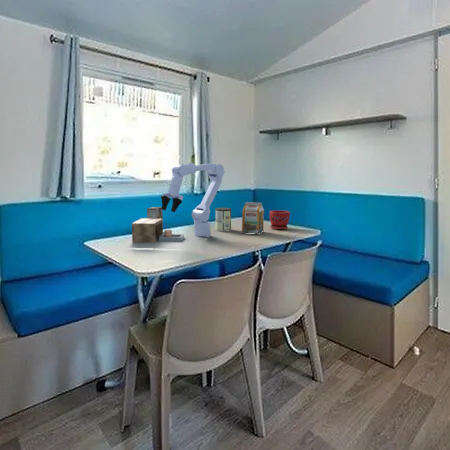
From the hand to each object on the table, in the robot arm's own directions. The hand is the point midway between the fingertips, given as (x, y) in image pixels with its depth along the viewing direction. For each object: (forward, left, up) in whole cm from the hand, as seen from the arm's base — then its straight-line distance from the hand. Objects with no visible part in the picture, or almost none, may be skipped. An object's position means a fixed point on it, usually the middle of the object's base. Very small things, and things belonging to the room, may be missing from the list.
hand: (168, 210), depth 183 cm
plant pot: (-64, -46, -17) cm, 81 cm away
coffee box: (+13, -20, -17) cm, 29 cm away
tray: (-1, -1, -17) cm, 17 cm away
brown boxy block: (+12, -1, -17) cm, 20 cm away
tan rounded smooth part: (+1, -1, -16) cm, 16 cm away
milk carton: (-46, -30, -17) cm, 58 cm away
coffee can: (-27, -38, -17) cm, 50 cm away
